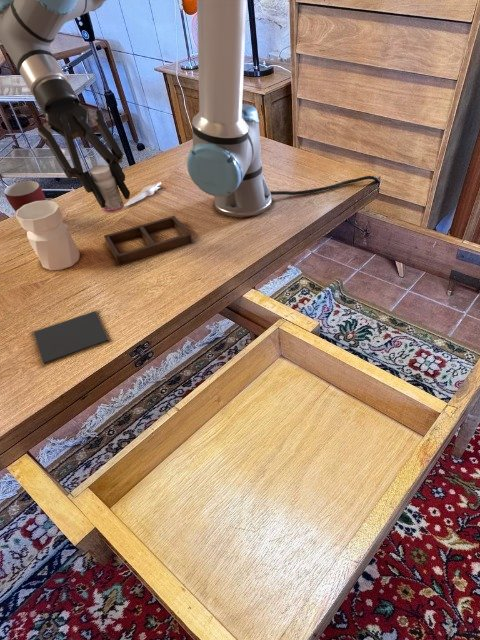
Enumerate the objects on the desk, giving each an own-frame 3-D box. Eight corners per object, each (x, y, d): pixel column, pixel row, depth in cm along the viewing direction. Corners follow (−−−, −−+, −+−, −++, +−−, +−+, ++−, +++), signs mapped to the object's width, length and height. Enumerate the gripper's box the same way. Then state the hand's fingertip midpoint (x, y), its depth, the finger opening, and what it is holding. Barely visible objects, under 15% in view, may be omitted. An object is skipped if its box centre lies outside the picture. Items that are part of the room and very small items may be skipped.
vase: (36, 271, 100) (8, 221, 91) (48, 249, 106) (23, 200, 97) (74, 269, 100) (50, 219, 91) (85, 248, 106) (63, 199, 97)
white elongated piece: (158, 185, 127) (156, 179, 126) (165, 187, 126) (163, 181, 125) (120, 208, 119) (118, 201, 117) (127, 210, 118) (125, 203, 117)
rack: (176, 222, 113) (174, 215, 112) (192, 242, 107) (190, 234, 106) (106, 243, 108) (103, 235, 106) (119, 265, 101) (116, 257, 100)
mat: (95, 312, 91) (95, 311, 90) (108, 340, 85) (108, 339, 85) (34, 333, 87) (33, 331, 86) (44, 364, 81) (43, 362, 81)
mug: (10, 229, 112) (-12, 190, 105) (35, 215, 117) (16, 176, 109) (40, 238, 109) (20, 198, 102) (64, 223, 114) (47, 184, 106)
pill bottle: (98, 209, 97) (82, 169, 90) (116, 201, 99) (102, 162, 93) (110, 216, 95) (95, 176, 88) (128, 208, 97) (115, 168, 90)
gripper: (93, 92, 95) (151, 195, 99) (8, 112, 88) (75, 222, 92) (94, 67, 88) (156, 178, 93) (2, 87, 81) (74, 206, 86)
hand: (115, 200), depth 93 cm, fingers closed on pill bottle, 5 cm apart
